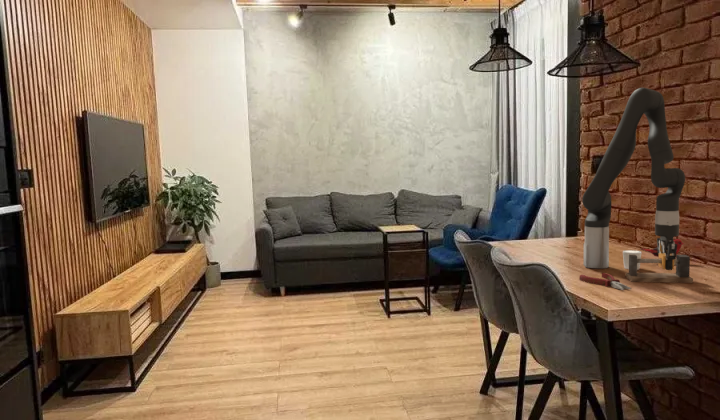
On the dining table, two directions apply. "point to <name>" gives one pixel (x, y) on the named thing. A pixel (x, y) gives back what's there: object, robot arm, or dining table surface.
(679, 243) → the decorative bird figurine
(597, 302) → the dining table surface
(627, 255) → the white cup
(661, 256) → the marker sleeve
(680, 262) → the stand
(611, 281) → the pliers
